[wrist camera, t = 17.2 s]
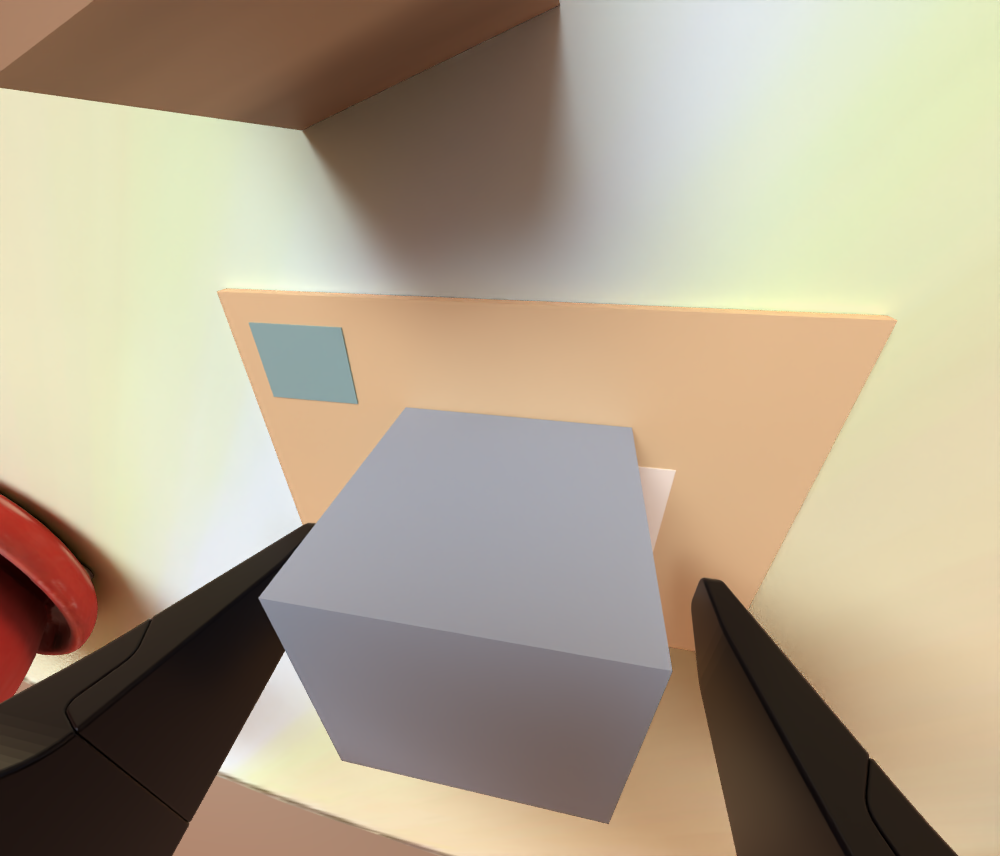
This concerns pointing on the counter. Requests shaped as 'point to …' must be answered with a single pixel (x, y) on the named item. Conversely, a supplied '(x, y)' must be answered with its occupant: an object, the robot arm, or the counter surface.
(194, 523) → the counter surface
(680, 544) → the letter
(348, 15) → the walnut block
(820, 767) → the robot arm
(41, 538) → the plant pot
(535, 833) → the counter surface
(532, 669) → the slate cube
